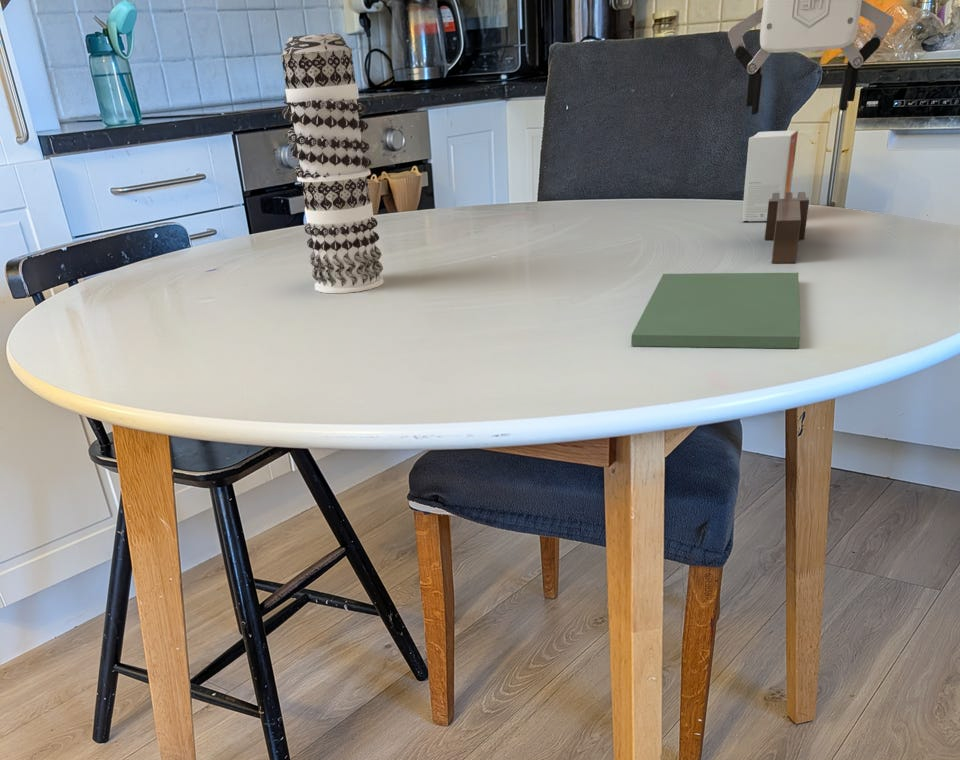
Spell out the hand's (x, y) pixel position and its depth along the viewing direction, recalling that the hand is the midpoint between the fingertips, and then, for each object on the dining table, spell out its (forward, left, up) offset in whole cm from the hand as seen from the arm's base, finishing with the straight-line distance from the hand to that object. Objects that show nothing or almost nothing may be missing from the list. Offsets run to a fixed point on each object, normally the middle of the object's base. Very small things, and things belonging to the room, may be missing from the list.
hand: (798, 111), depth 101 cm
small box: (+15, -13, -14) cm, 25 cm away
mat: (-18, +28, -14) cm, 36 cm away
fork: (-1, 0, -14) cm, 14 cm away
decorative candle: (+23, +49, -14) cm, 56 cm away
